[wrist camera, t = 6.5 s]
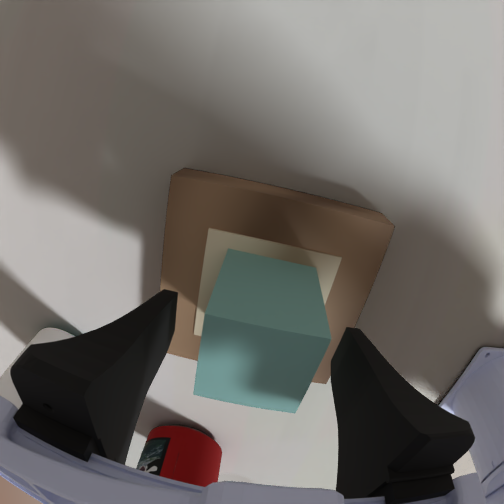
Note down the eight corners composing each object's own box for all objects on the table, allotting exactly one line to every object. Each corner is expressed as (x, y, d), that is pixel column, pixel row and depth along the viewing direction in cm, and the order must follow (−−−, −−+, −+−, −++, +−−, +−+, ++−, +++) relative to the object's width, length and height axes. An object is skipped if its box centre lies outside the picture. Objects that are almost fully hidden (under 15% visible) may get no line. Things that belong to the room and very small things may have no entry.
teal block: (316, 267, 14) (331, 338, 9) (292, 335, 16) (295, 413, 11) (228, 248, 14) (204, 313, 9) (215, 319, 16) (193, 394, 11)
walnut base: (381, 213, 15) (395, 227, 13) (323, 361, 19) (326, 385, 17) (184, 167, 15) (170, 175, 13) (167, 329, 19) (157, 351, 17)
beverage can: (145, 411, 23) (101, 531, 12) (225, 426, 23) (201, 558, 12) (155, 448, 26) (124, 547, 15) (222, 461, 25) (204, 567, 14)
